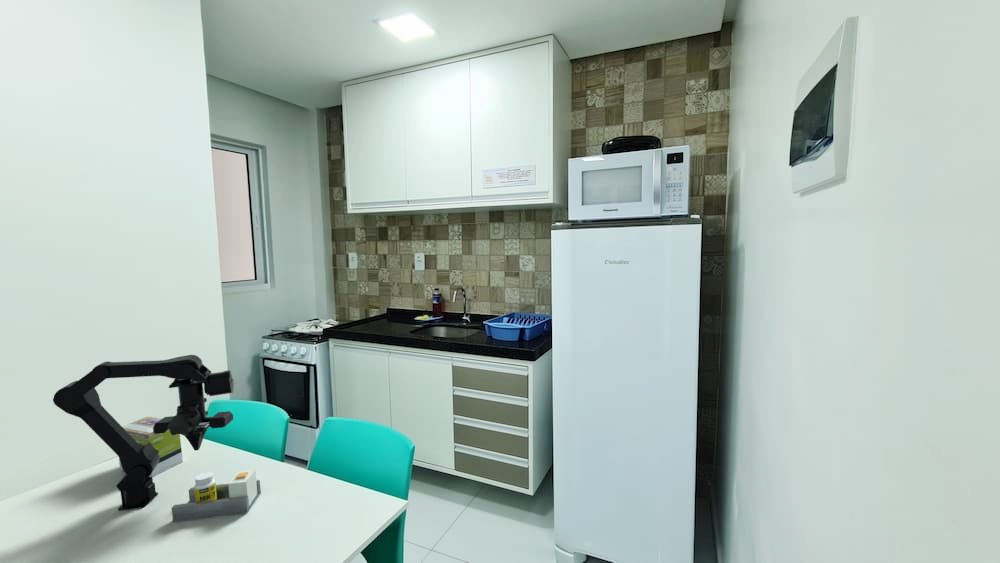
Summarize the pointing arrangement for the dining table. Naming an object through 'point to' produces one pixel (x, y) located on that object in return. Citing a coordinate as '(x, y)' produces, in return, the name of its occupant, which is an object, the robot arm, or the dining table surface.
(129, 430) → the tea box
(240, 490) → the seated module
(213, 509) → the grey tray
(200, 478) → the supplement bottle
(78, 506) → the dining table surface
